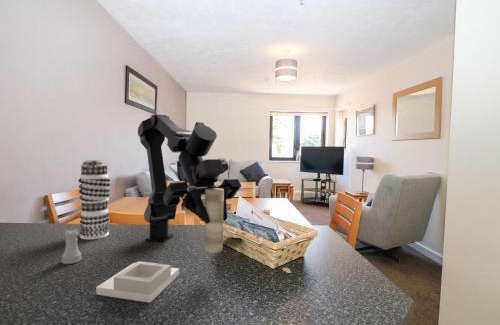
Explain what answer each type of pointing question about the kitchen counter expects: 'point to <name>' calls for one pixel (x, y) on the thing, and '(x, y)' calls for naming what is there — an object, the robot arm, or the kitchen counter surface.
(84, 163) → the decorative candle
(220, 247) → the birch post
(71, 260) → the rook chess piece
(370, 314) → the kitchen counter surface
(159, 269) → the socket base
